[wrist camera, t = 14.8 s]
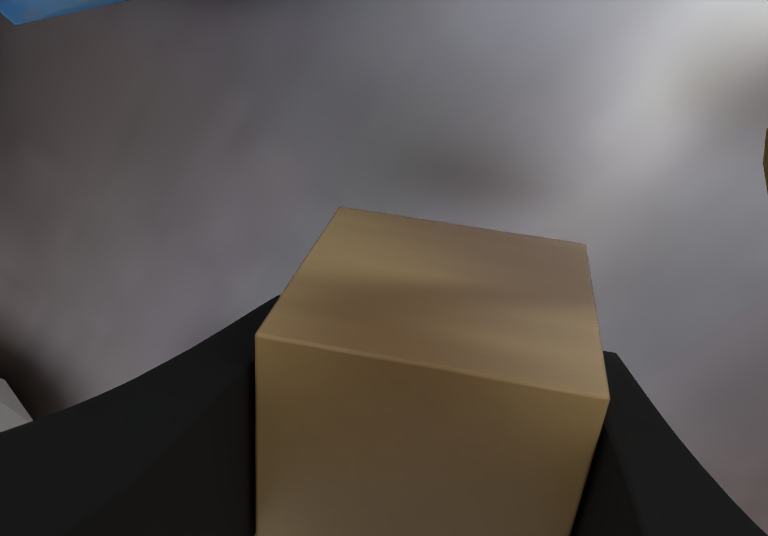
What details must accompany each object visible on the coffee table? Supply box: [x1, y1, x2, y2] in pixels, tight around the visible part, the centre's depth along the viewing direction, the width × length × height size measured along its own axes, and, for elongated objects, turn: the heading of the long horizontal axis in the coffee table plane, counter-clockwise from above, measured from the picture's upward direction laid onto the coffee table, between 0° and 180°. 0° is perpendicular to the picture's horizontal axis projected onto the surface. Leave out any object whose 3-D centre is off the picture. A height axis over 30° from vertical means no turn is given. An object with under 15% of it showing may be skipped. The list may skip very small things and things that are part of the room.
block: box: [255, 207, 610, 536], centre depth 10 cm, size 4×4×4 cm
